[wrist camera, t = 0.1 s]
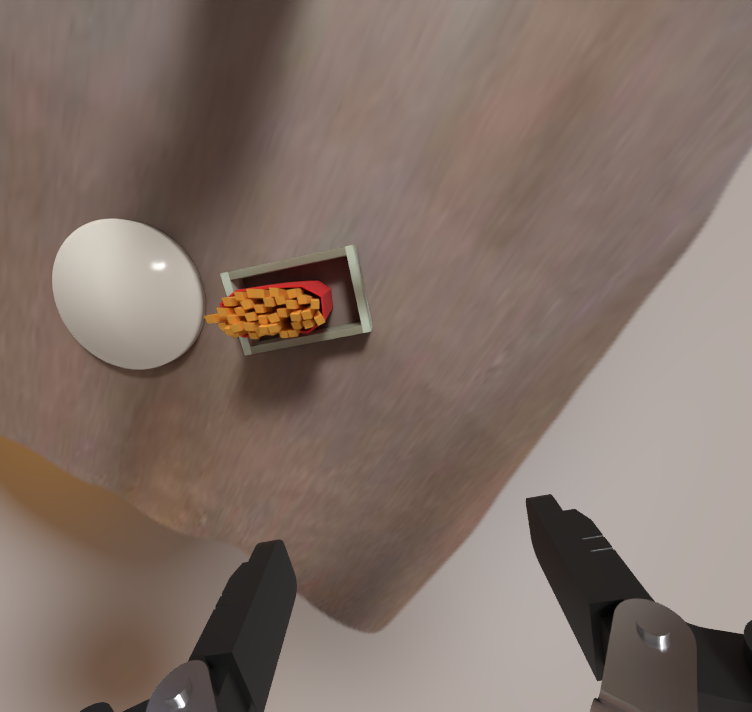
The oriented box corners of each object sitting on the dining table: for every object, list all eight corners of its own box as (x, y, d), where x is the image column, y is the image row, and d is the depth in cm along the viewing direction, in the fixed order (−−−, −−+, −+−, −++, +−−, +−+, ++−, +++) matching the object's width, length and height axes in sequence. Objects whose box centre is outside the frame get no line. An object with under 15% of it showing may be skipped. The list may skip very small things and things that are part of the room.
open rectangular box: (233, 272, 39) (220, 273, 36) (356, 246, 37) (352, 244, 34) (255, 349, 41) (244, 355, 38) (372, 326, 39) (371, 331, 36)
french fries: (265, 322, 40) (205, 349, 27) (259, 283, 39) (194, 293, 26) (347, 316, 39) (324, 342, 27) (343, 276, 38) (317, 283, 26)
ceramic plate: (41, 237, 39) (27, 237, 37) (177, 205, 37) (169, 202, 36) (97, 376, 43) (87, 380, 41) (224, 352, 41) (217, 355, 40)
